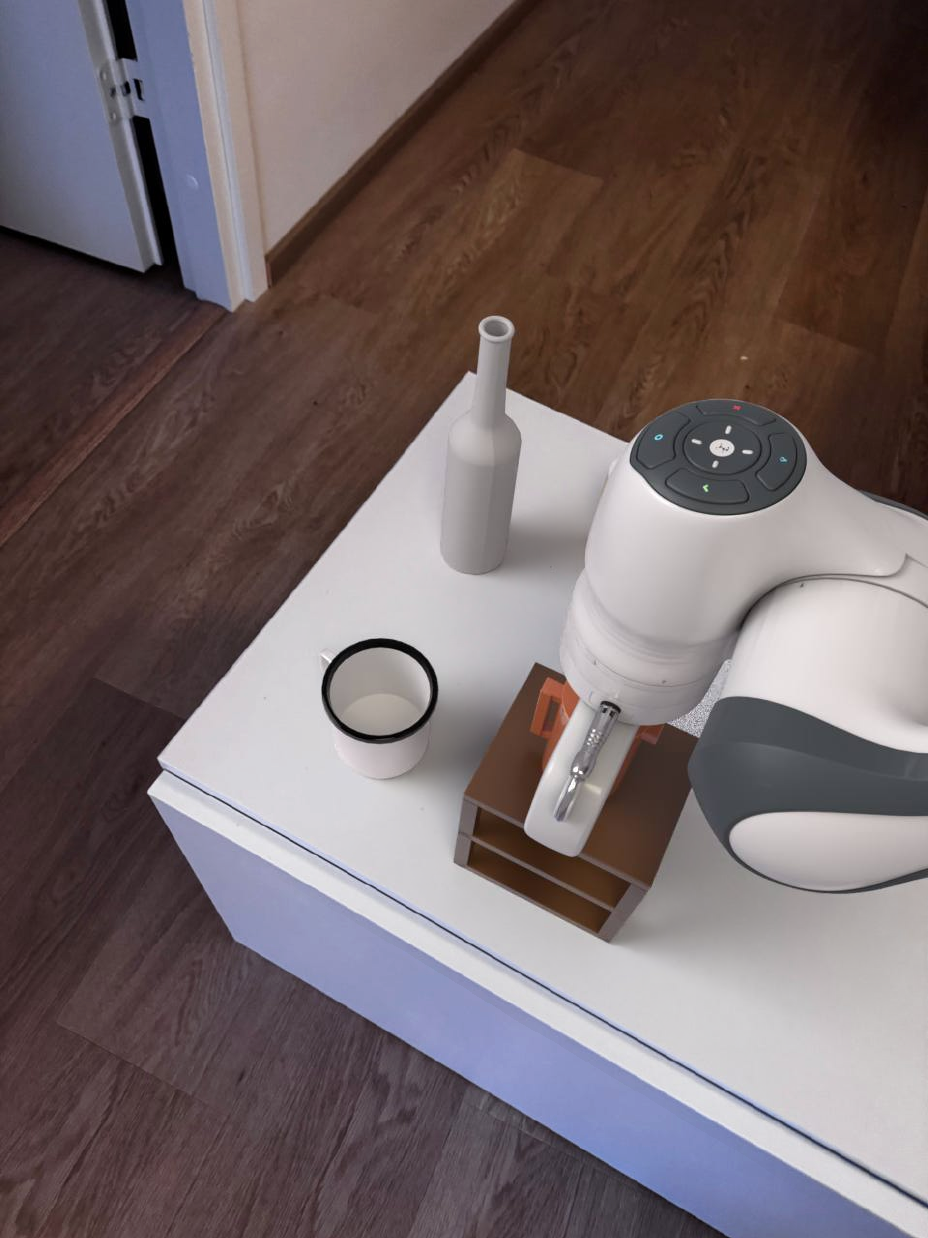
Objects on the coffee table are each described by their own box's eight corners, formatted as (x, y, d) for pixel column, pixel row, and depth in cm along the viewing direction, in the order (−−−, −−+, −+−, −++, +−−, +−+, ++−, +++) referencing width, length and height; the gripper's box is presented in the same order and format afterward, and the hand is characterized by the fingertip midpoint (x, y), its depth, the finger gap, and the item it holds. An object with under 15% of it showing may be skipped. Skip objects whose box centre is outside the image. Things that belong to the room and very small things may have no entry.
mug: (457, 735, 86) (463, 687, 78) (380, 808, 82) (378, 764, 74) (363, 652, 90) (360, 598, 82) (285, 717, 86) (274, 667, 78)
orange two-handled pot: (645, 756, 69) (679, 690, 61) (615, 824, 67) (646, 765, 58) (545, 708, 71) (565, 637, 63) (511, 773, 68) (527, 708, 60)
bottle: (433, 526, 98) (444, 302, 74) (496, 516, 99) (527, 293, 76) (448, 579, 95) (465, 362, 71) (513, 568, 96) (551, 351, 72)
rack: (662, 816, 83) (710, 742, 70) (609, 944, 77) (651, 887, 64) (515, 745, 86) (535, 661, 73) (452, 862, 80) (463, 793, 67)
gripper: (625, 826, 48) (580, 905, 60) (750, 537, 58) (691, 653, 70) (510, 769, 49) (488, 858, 61) (653, 497, 60) (611, 617, 71)
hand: (598, 746), depth 66 cm, fingers closed on orange two-handled pot, 6 cm apart
